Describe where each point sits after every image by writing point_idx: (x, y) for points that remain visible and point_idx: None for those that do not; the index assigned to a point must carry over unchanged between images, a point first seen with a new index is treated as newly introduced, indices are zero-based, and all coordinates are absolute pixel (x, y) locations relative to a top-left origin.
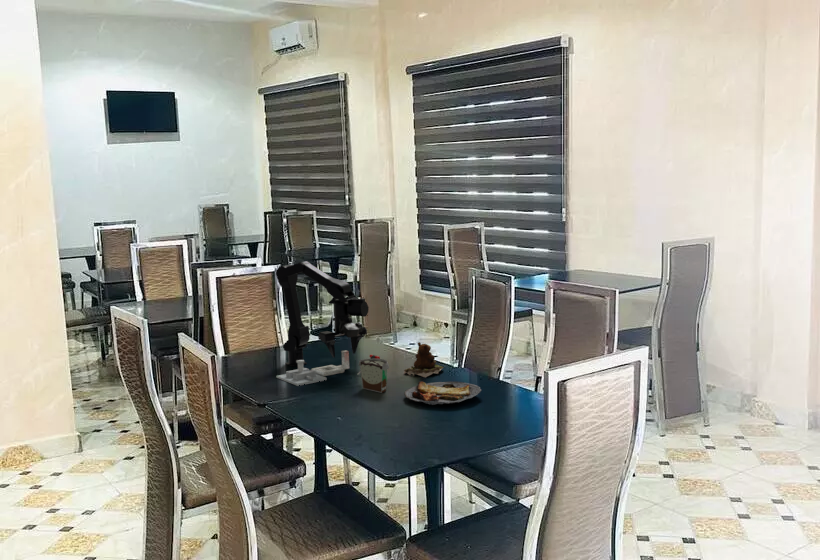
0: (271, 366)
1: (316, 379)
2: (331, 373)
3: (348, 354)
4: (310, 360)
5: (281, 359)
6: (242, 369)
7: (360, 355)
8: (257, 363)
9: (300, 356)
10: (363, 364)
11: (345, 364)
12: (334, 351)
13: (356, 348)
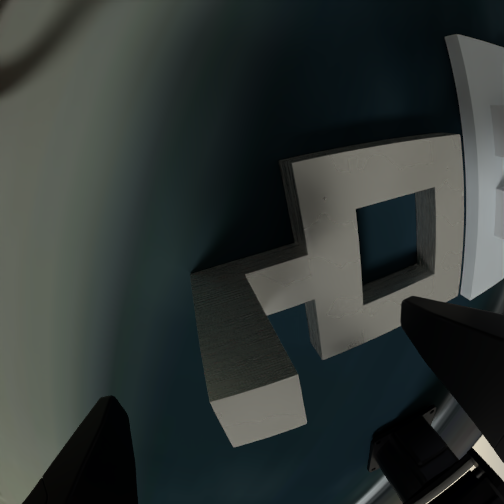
0: (451, 422)
1: (494, 48)
2: (400, 140)
3: (207, 364)
4: (316, 486)
5: (378, 489)
6: None
7: None
8: None
9: (427, 447)
10: None
11: (239, 283)
12: (466, 320)
13: (68, 443)
